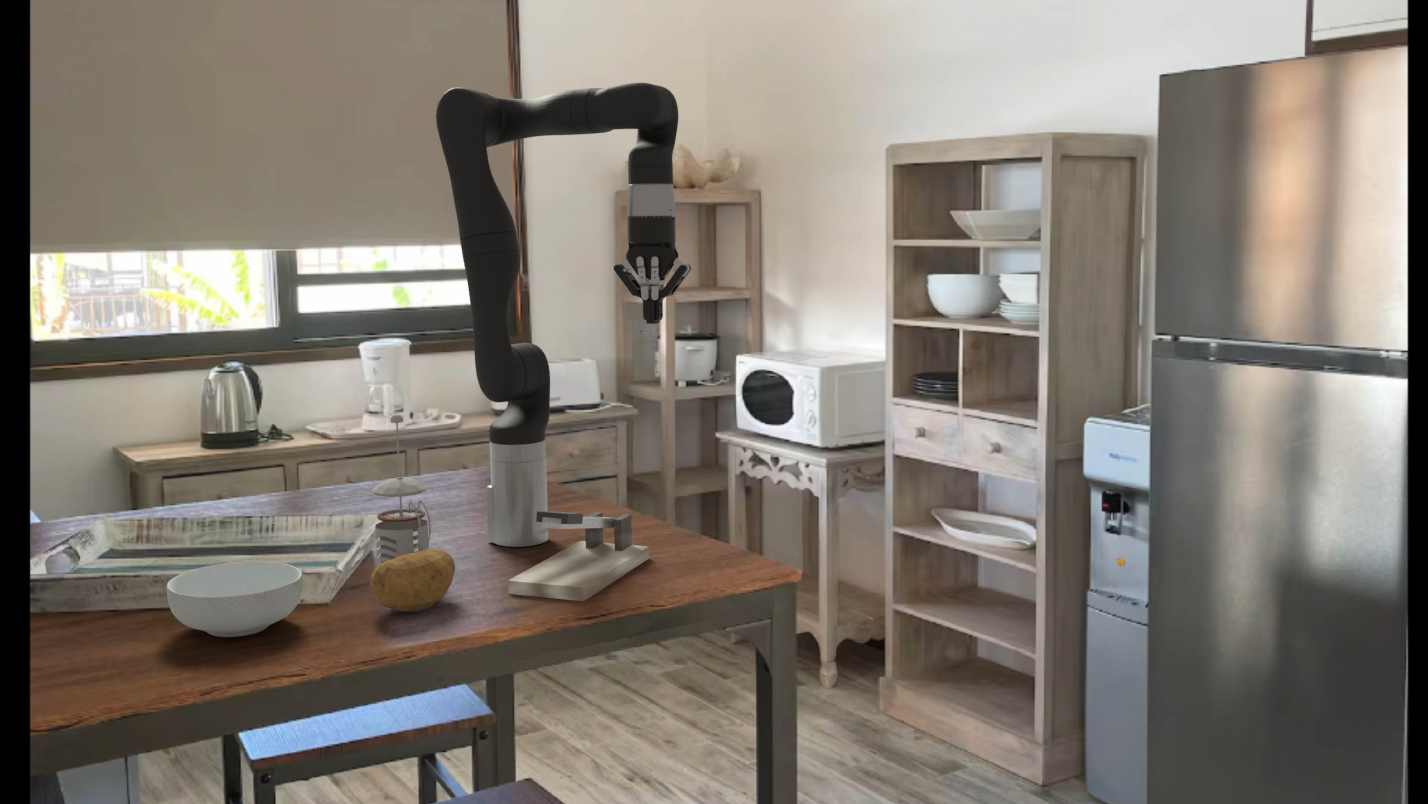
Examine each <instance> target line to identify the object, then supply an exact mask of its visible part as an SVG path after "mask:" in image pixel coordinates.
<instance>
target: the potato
mask: <svg viewBox="0 0 1428 804" xmlns="http://www.w3.org/2000/svg"><path fill="white" fill-rule="evenodd" d="M414 552H415V553H410V554H405V555H402V556H399V557H397V558H394V559H392V560H389V561H386V562H384V563H382V564H381V563H379V565H378V566H377V567H375V568H374V569H373V571H372V573H371V575H370V582H369V586H370V589H371V591H372V595H373V597H374V598H375V599H376V601H377V602H378V603H379V604H380V605H381V606H382V607H386V608H388V609H390V610H393V611H398V612H405V613H406V612H409V613H410V612H411V613H412V612H421V611H425V610H427V609H430V608H431V607H432V606H434V604H436V603H437V602H438V601H439V600H441V599H442V598H443V597H444V596H445V595H446V594H447V593H448V590H449V589H450V586H451V585H452V583H453V579H454V577H455V571H456V564H455V560H454V559H453V557H452V556H451V555H450V554H449V553H448V552H447V551H445V550H443V549H434V548H429V549H428V550H423V551H420V552H416V551H414Z"/></svg>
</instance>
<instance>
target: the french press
mask: <svg viewBox="0 0 1428 804" xmlns="http://www.w3.org/2000/svg"><path fill="white" fill-rule="evenodd" d="M389 422H390V423H391V424H395V426H396V427H395V429H396V449H397V451H396V452H397V467H398V468H397V469H398V471H397V472H398V473H397V474H398V476H397V477H395V478H389V479H387V480H384V481H383V482H380V483H378V484H377V485H376V486H375V487H373V488H372V489H371V492H372V493H373V495H375V496H379V497H389V498H391V497H392V498H395V497H399V508H398V509H397V508H396V509H388V510H384V511H382V512H380V513H378V514H377V516H376V518H377V520H379V521H380V522H378V523H376V524H375V527H374V528H375V530H374V531H375V540H377V539H378V538H379V540H378V541H377V542H376V543H375V546H376V548H378V547H380V548H378V550H377V551H376V557H378V556H379V555H380V557H378V558H377V559H376V564H377V565H378V564H382V563H384V562H386V561H389V560H392V559H394V558H397V557H399V556H402V555H405V554H410V553H415V552H420V551H423V550H428V549H430V546H429V545H430V540H431V535H432V534H431V533H432V530H431V529H432V525H431V517H430V514H429V512H428V509H427V506H426V504H425V502H423V501H422V500H418V503H417V504H418V505H417V507H416V506H415V504H413V503H412V502H411V501H409V503H408V508H402V507H403V506H402V504H403V503H402V497H409V496H415V495H420V494H423V492H425V491H426V490H427V488H428V485H426V484H424V483H423V482H422V481H419V480H417V479H414V478H411V477H403V476H401V462H400V444H399V442H400V441H399V425H398V424H399V423H400V424H401V423H403V422H404V417H403V416H402V415H401V414H393V415H391V417H390V421H389ZM421 505H422V506H423V508H424V510H425V511H423V510H422V509H420V508H421ZM411 507H412V508H411ZM425 516H427V520H425V519H423V518H424V517H425ZM415 532H417V534H416V535H414V533H415ZM414 541H417V543H414ZM416 549H417V550H416ZM415 550H416V551H415Z"/></svg>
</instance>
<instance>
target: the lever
mask: <svg viewBox="0 0 1428 804" xmlns="http://www.w3.org/2000/svg"><path fill="white" fill-rule="evenodd" d="M616 518H617V517H611V516H609V517H608V516H606V517H605V516H603V517H587V516H584V513H577V512H565V511H564V512H563V511H537V517H536V522H542V528H548V529H557V530H569V529H585V528H603V529H607V528H608V529H609V528H611V529H612V528H614V519H616Z"/></svg>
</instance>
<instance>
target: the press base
mask: <svg viewBox="0 0 1428 804" xmlns="http://www.w3.org/2000/svg"><path fill="white" fill-rule="evenodd" d="M603 515H604V513H603V511H602V512H600V511H595V512H593V513H591V514H588V515H587V516H586V517H604V516H603ZM615 518H616V519H614V529H613V530H614V532H613V534H614V539H613V541H614V543H611V542H604V528H584V529H585V530H584V531H585V540H580V541H577V542H575V543H574V544H572V545H570V546H569V547H568V546H567V547H566V548H565V549H563V550H561V551H559V552H557V553H556V554H553V555H552V556H550V557H548V558H547V559H545V560H543V561H541V562H540V563H537V564H535V565H534V566H531V567H530V568H528V569H526V570H525V571H523V572H521V573H519V574H517V575H516V576H513V577H512V578H510V579H508V580H507V581H508V582H507V583H508V584H507V585H508V587H507V588H508V595H515V596H516V595H518V596H525V597H526V596H527V597H535V598H536V597H537V598H548V599H559V600H566V601H567V600H568V601H575V602H576V601H577V602H585V601H586V600H588V599H590V598H591V597H593V596H594V595H596V594H597V593H599V592H601V591H602V590H604V589H605V588H607V586H609V585H611V584H613V583H614V582H616V581H618V580H619V579H620V578H621V577H623V576H625V575H626V574H628V573H629V572H631V571H632V570H634V569H635V568H637V567H639V566H640V565H641V564H643V563H644V562H646V561H647V560H649V559H650V548H649V546H647V545H634V544H633V542H632V541H633V538H632V535H633V534H632V531H633V530H632V529H633V528H632V514H630V513H623V514H622V515H619V516H618V517H615Z"/></svg>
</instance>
